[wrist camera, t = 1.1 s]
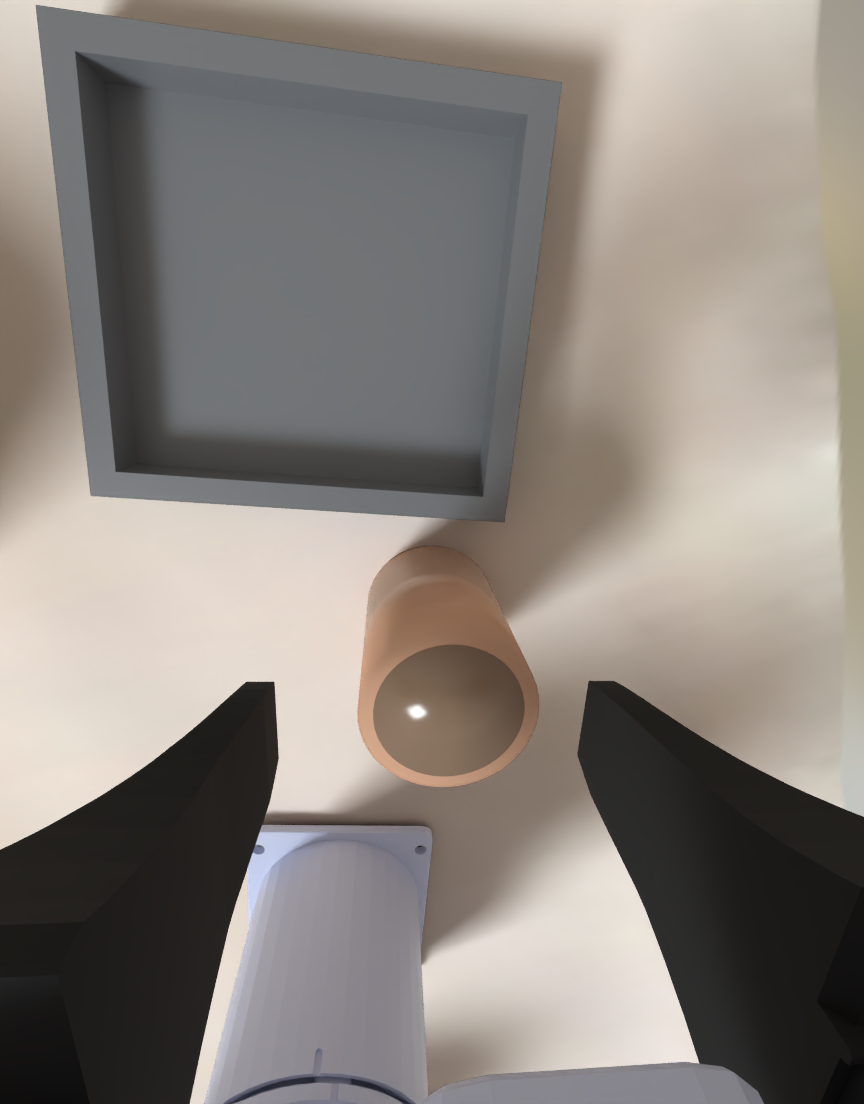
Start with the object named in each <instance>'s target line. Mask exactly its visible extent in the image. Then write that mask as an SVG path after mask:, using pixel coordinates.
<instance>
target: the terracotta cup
mask: <svg viewBox="0 0 864 1104" xmlns="http://www.w3.org/2000/svg"><path fill="white" fill-rule="evenodd" d="M538 712H539V695H538V690H537V685H536V683H535V680H534V677H533V675H532V673H531V671H530V669H529V667H528V665H527V662H526V660H525V658H524V656H523V654H522V652H521V650H520V648H519V646H518V644H517V642H516V640H515V637H514V635H513V633H512V631H511V629H510V627H509V625H508V623H507V621H506V619H505V617H504V615H503V612H502V610H501V608H500V606H499V604H498V602H497V600H496V598H495V596H494V594H493V592H492V590H491V587H490V585H489V583H488V581H487V579H486V577H485V576H484V574H483V572H482V571H481V569H480V568H479V567H478V566H477V565H476V564H475V563H474V562H473V561H472V560H471V559H469V558H468V557H467V556H465V555H463V554H462V553H460V552H458V551H455V550H453V549H449V548H445V547H439V546H424V547H418V548H414V549H410V550H408V551H405V552H403V553H401V554H399V555H397V556H395V557H394V558H393V559H391V560H390V561H389V562H388V563H387V564H385V565H384V566H383V567H382V569H381V570H380V571H379V572H378V574H377V575H376V577H375V579H374V581H373V583H372V585H371V588H370V591H369V596H368V604H367V615H366V626H365V636H364V647H363V658H362V669H361V679H360V690H359V701H358V724H359V730H360V733H361V736H362V739H363V741H364V743H365V745H366V747H367V749H368V750H369V752H370V753H371V754H372V756H373V757H374V758H375V759H376V760H377V761H378V762H379V763H380V764H381V765H382V766H383V767H384V768H386V769H387V770H388V771H389V772H391V773H393V774H394V775H396V776H398V777H400V778H402V779H404V780H407V781H409V782H413V783H416V784H419V785H425V786H431V787H454V786H461V785H466V784H470V783H474V782H477V781H479V780H482V779H485V778H487V777H489V776H491V775H493V774H495V773H496V772H498V771H499V770H501V769H503V768H504V767H505V766H507V765H508V764H509V763H510V762H511V761H513V760H514V759H515V758H516V757H517V756H518V754H519V753H520V752H521V751H522V750H523V748H524V747H525V746H526V744H527V743H528V741H529V739H530V737H531V736H532V733H533V731H534V728H535V726H536V722H537V718H538Z"/></svg>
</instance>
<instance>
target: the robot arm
mask: <svg viewBox="0 0 864 1104" xmlns="http://www.w3.org/2000/svg"><path fill="white" fill-rule="evenodd" d="M578 758H579V761H580V764H581V767H582V770H583V773H584V777H585V779H586V782H587V785H588V788H589V791H590V794H591V796H592V798H593V800H594V803H595V805H596V807H597V809H598V811H599V813H600V815H601V817H602V819H603V822H604V824H605V826H606V828H607V830H608V832H609V834H610V836H611V838H612V840H613V842H614V844H615V846H616V848H617V850H618V852H619V854H620V856H621V858H622V860H623V862H624V864H625V867H626V869H627V871H628V873H629V875H630V877H631V879H632V881H633V883H634V885H635V887H636V889H637V891H638V894H639V896H640V898H641V900H642V903H643V905H644V907H645V910H646V912H647V915H648V917H649V920H650V923H651V925H652V928H653V931H654V933H655V936H656V939H657V941H658V944H659V947H660V949H661V952H662V955H663V957H664V960H665V963H666V966H667V968H668V971H669V974H670V977H671V980H672V983H673V986H674V988H675V991H676V994H677V997H678V1000H679V1003H680V1005H681V1008H682V1011H683V1014H684V1017H685V1020H686V1023H687V1026H688V1029H689V1032H690V1035H691V1039H692V1042H693V1045H694V1048H695V1051H696V1054H697V1057H698V1060H699V1063H700V1064H697V1063H689V1062H678V1063H663V1064H647V1065H632V1066H617V1067H601V1068H586V1069H571V1070H555V1071H540V1072H524V1073H509V1074H494V1075H485V1076H481V1077H477V1078H472V1079H468V1080H464V1081H460V1082H455V1083H451V1084H447V1085H444V1086H443V1087H441V1088H440V1089H438V1090H437V1091H435V1092H434V1093H432V1094H431V1095H429V1096H428V1077H427V1059H426V1041H425V1022H424V1004H423V986H422V967H421V944H422V935H423V925H424V916H425V907H426V898H427V889H428V879H429V870H430V861H431V852H432V842H433V838H432V831H431V830H430V829H429V828H428V827H425V826H351V825H262V824H263V821H264V818H265V815H266V812H267V809H268V805H269V802H270V798H271V794H272V789H273V784H274V779H275V774H276V769H277V764H278V759H279V757H278V739H277V721H276V703H275V685H274V682H246V683H245V684H243V685H242V686H241V687H240V688H239V689H238V690H237V691H235V692H234V693H233V694H232V695H231V696H230V697H229V698H228V699H226V700H225V701H224V702H223V703H222V704H221V705H220V706H219V707H218V708H217V709H215V710H214V711H213V712H212V713H211V714H210V715H209V716H208V717H206V718H205V719H204V720H203V721H202V722H201V723H199V724H198V725H197V726H196V727H195V728H194V729H193V730H191V731H190V732H189V733H188V734H187V735H185V736H184V737H183V738H182V739H180V740H179V741H178V742H176V743H175V744H174V745H173V746H171V747H170V748H169V749H168V750H166V751H165V752H164V753H162V754H161V755H160V756H159V757H157V758H156V759H155V760H154V761H152V762H151V763H149V764H148V765H147V766H145V767H144V768H142V769H141V770H140V771H138V772H137V773H135V774H134V775H132V776H131V777H129V778H128V779H126V780H125V781H123V782H122V783H120V784H119V785H117V786H116V787H114V788H113V789H111V790H110V791H108V792H106V793H105V794H103V795H102V796H100V797H98V798H97V799H95V800H93V801H91V802H90V803H88V804H86V805H84V806H83V807H81V808H79V809H77V810H76V811H74V812H72V813H70V814H69V815H67V816H65V817H63V818H61V819H60V820H58V821H56V822H54V823H53V824H51V825H49V826H47V827H45V828H43V829H42V830H40V831H38V832H36V833H34V834H32V835H30V836H28V837H26V838H24V839H22V840H20V841H18V842H16V843H14V844H12V845H10V846H7V847H5V848H3V849H1V850H0V1104H189V1103H190V1099H191V1094H192V1089H193V1084H194V1080H195V1075H196V1070H197V1065H198V1060H199V1056H200V1051H201V1046H202V1041H203V1037H204V1032H205V1028H206V1024H207V1019H208V1015H209V1010H210V1006H211V1001H212V997H213V992H214V988H215V983H216V979H217V975H218V970H219V966H220V962H221V958H222V954H223V949H224V945H225V941H226V937H227V932H228V928H229V925H230V921H231V918H232V914H233V911H234V908H235V904H236V901H237V898H238V895H239V892H240V889H241V886H242V883H243V880H244V877H245V874H246V871H247V879H248V915H249V929H248V933H247V937H246V941H245V945H244V949H243V953H242V957H241V961H240V965H239V969H238V972H237V976H236V980H235V984H234V988H233V992H232V996H231V1000H230V1004H229V1008H228V1012H227V1016H226V1020H225V1024H224V1028H223V1031H222V1035H221V1039H220V1043H219V1047H218V1051H217V1055H216V1059H215V1063H214V1067H213V1071H212V1075H211V1079H210V1083H209V1087H208V1090H207V1094H206V1098H205V1102H204V1104H864V817H863V816H860V815H857V814H855V813H852V812H850V811H847V810H845V809H842V808H840V807H838V806H835V805H833V804H831V803H828V802H826V801H824V800H821V799H819V798H817V797H814V796H812V795H810V794H807V793H805V792H803V791H801V790H799V789H797V788H794V787H792V786H790V785H788V784H786V783H784V782H782V781H780V780H778V779H776V778H774V777H772V776H770V775H768V774H766V773H764V772H762V771H760V770H758V769H756V768H754V767H752V766H750V765H749V764H747V763H745V762H743V761H741V760H739V759H738V758H736V757H734V756H732V755H731V754H729V753H727V752H726V751H724V750H722V749H720V748H719V747H717V746H715V745H714V744H712V743H710V742H709V741H707V740H705V739H704V738H702V737H701V736H699V735H697V734H696V733H694V732H693V731H691V730H689V729H688V728H686V727H685V726H683V725H682V724H680V723H679V722H677V721H676V720H674V719H672V718H671V717H669V716H668V715H666V714H665V713H663V712H662V711H660V710H659V709H657V708H656V707H654V706H653V705H651V704H650V703H649V702H647V701H646V700H644V699H643V698H641V697H639V696H638V695H636V694H635V693H633V692H632V691H630V690H629V689H627V688H625V687H624V686H622V685H620V684H619V683H617V682H615V681H589V683H588V690H587V696H586V702H585V709H584V715H583V722H582V728H581V735H580V741H579V747H578ZM256 845H261V846H263V847H258V846H256ZM417 846H423V847H417Z"/></svg>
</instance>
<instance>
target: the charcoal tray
mask: <svg viewBox="0 0 864 1104" xmlns="http://www.w3.org/2000/svg"><path fill="white" fill-rule="evenodd" d="M36 13H37V22H38V30H39V39H40V48H41V57H42V66H43V75H44V84H45V93H46V102H47V111H48V120H49V128H50V137H51V146H52V155H53V164H54V173H55V182H56V191H57V200H58V209H59V217H60V226H61V235H62V244H63V253H64V262H65V271H66V280H67V289H68V298H69V306H70V315H71V324H72V333H73V342H74V351H75V360H76V369H77V378H78V387H79V396H80V404H81V413H82V422H83V431H84V440H85V449H86V458H87V467H88V476H89V485H90V493H91V496H100V497H116V498H132V499H147V500H163V501H179V502H194V503H210V504H226V505H242V506H257V507H273V508H289V509H304V510H320V511H336V512H351V513H367V514H383V515H398V516H414V517H430V518H446V519H461V520H477V521H493V522H505V514H506V506H507V499H508V491H509V483H510V476H511V468H512V460H513V453H514V445H515V437H516V430H517V422H518V414H519V407H520V399H521V391H522V384H523V376H524V368H525V361H526V353H527V345H528V338H529V330H530V322H531V315H532V307H533V299H534V292H535V284H536V276H537V269H538V261H539V253H540V246H541V238H542V230H543V223H544V215H545V207H546V200H547V192H548V184H549V177H550V169H551V161H552V154H553V146H554V138H555V131H556V123H557V115H558V108H559V100H560V92H561V85H562V82H555V81H548V80H542V79H535V78H528V77H521V76H514V75H508V74H501V73H494V72H487V71H481V70H474V69H467V68H460V67H453V66H447V65H440V64H433V63H426V62H420V61H413V60H406V59H399V58H392V57H386V56H379V55H372V54H365V53H359V52H352V51H345V50H338V49H331V48H325V47H318V46H311V45H304V44H297V43H291V42H284V41H277V40H270V39H264V38H257V37H250V36H243V35H236V34H230V33H223V32H216V31H209V30H203V29H196V28H189V27H182V26H175V25H169V24H162V23H155V22H148V21H142V20H135V19H128V18H121V17H114V16H108V15H101V14H94V13H87V12H81V11H74V10H67V9H60V8H53V7H47V6H40V5H36Z"/></svg>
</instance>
